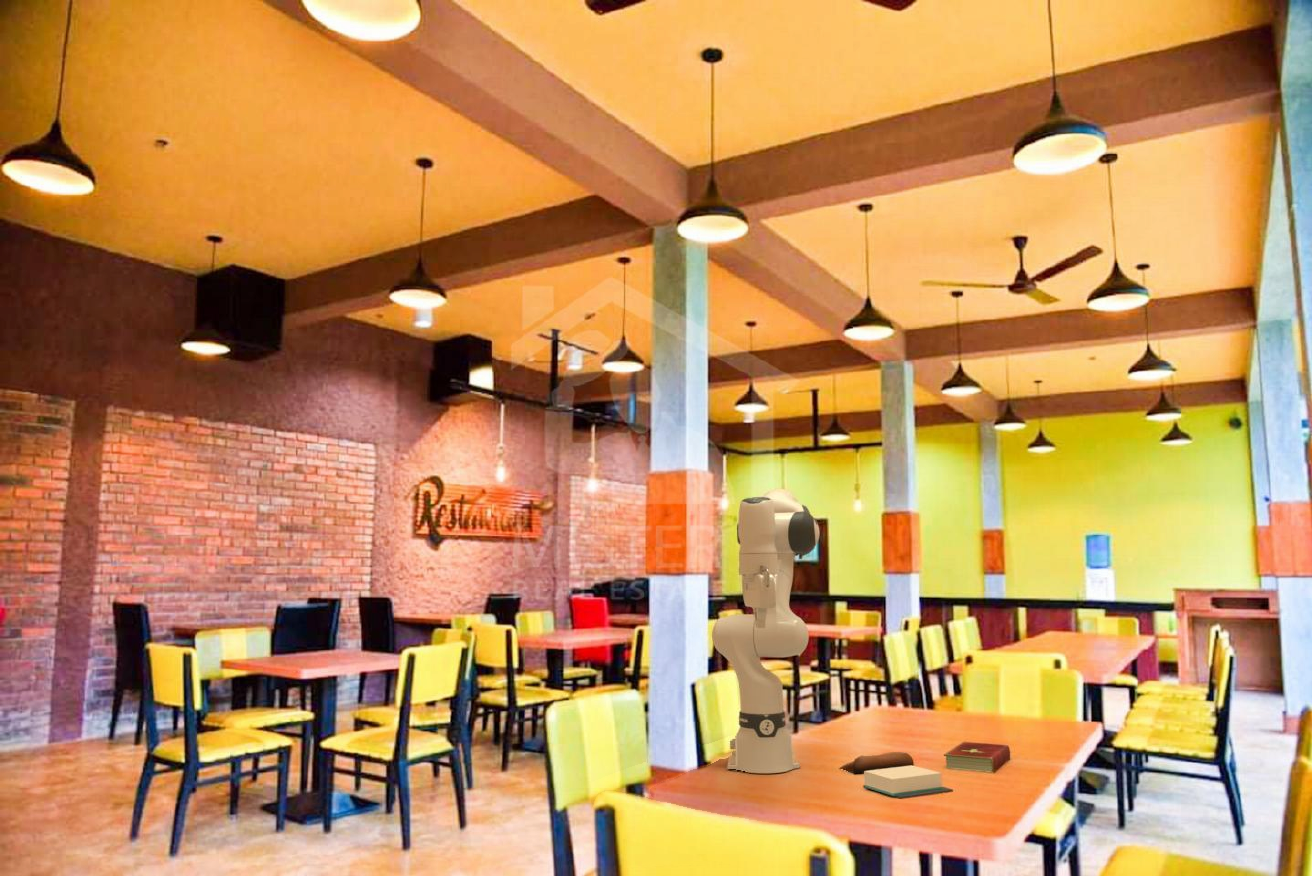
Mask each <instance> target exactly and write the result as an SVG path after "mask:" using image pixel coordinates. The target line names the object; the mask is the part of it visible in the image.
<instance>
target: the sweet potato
mask: <svg viewBox="0 0 1312 876" xmlns="http://www.w3.org/2000/svg"><path fill="white" fill-rule="evenodd" d="M911 765H912V766H915V763H914V759H913V757H912V756H911V755H910V754H909V753H907V752H901V751H892V752H885V753H882V754H875V755H873V754H872V755H860V756H858V757H856V758H854V760H852V761H850V762H847V763H845V764H843V765H842V766H840V767H839V768H838V769H839V770H841V769H843V770H842V771H844V770H846V771H848V772H847V773H849V772H850V774H852V773H853V775H855V774H861V773H864V771H869V770H878V769H886V768H894V767H903V766H911ZM846 771H845V772H846Z"/></svg>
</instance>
